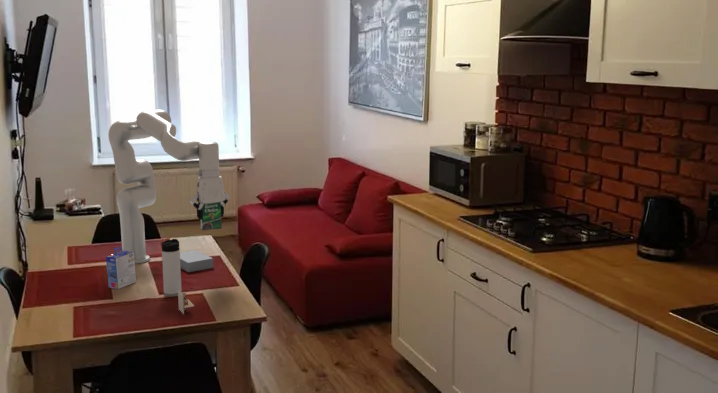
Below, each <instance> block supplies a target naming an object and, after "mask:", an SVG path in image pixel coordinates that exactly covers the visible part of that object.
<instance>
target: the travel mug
mask: <svg viewBox="0 0 718 393" xmlns="http://www.w3.org/2000/svg"><path fill="white" fill-rule="evenodd" d="M180 250H181V249H180V241H179V240H178V239H177V238H171V239H167V240H164V241H163V242H161V261H162V262H161V263H162V280H163V295H164V296H165V297H171V298H172V297H178V291H180V292H181V293H183V292H182V274H181V272H182V271H181V268H180V253H181V251H180Z"/></svg>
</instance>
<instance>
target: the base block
mask: <svg viewBox="0 0 718 393" xmlns="http://www.w3.org/2000/svg"><path fill="white" fill-rule="evenodd" d="M213 268H214V258H213V257H211V256H209V255H207V254H205V253H203V252H201V251H199V250H190V251H189V250H188V251H184V252H180V269H182V270H183V271H185V272H188V273H192V272H197V271H198V272H199V271H202V270H204V271H205V270H209V269H213Z"/></svg>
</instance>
